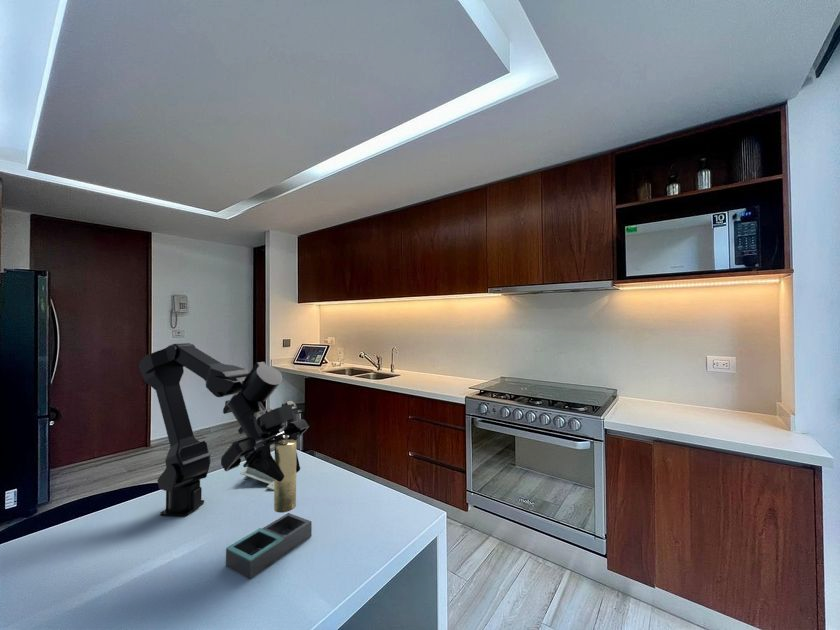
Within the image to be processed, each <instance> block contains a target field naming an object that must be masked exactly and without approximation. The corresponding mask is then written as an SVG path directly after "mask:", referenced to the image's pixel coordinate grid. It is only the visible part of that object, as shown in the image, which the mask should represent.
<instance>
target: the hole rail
mask: <svg viewBox="0 0 840 630" xmlns="http://www.w3.org/2000/svg"><path fill="white" fill-rule="evenodd" d="M312 527H313V526H312V521H311V520H309V519H306V518H303V517H300V516H299V515H295V514H293V513H290V512H288V513H287V512H286V514H284V515H282V516H281V517H279V518H277V519H276V520H273V521H272V522H270V523H269V524H267V525H265V526H263V527H262V528H261V527H260V528H258V529H256V530H254V531H253V532H251V533H249V534H247V535H246V536H244V537H242V538H241V539H238V540H237V541H235V542H233V543H232V544H230V545H228V546H227V547H226V548H225V567H226V568H229V569H230V570H232V571H234V572H236V573H238V574H239V575H241V576H243V577H245V578H247V579H249V580H252V579H254V578H255V577H256V576H257V575H259V574H261V573H262V572H263V571H264V570H266V569H267V568H269V567H270V566H272V565H273V564H274V563H275V562H277V561H279V560H280V559H282V558H283V557H284V556H286V555H287V554H288V553H290V552H291V551H293V550H294V549H295V548H297V547H298V546H299V545H301V544H303V543H304V542H305V541H307V540H308V539H310V538H311V537H312ZM288 531H290V532H289V533H288V534H285V535H282V534H284V533H285V532H288ZM259 549H260V550H259ZM257 550H259V551H257ZM256 551H257V552H256ZM254 552H256V553H254ZM252 553H254V554H252ZM251 554H252V555H251Z"/></svg>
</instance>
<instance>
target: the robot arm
mask: <svg viewBox="0 0 840 630" xmlns="http://www.w3.org/2000/svg"><path fill="white" fill-rule="evenodd" d="M184 368H186V369H188V370H190V372H192V373H193V374H195V375H197V376H198V377H200V378H202V379H203V380H204V381H205V388H206V389H207V390H208V391H209V392H211V394H212V395H213V396H215V397H216V398H223V397H229V396H232V397H230V399H229V400H225V402H224V403H225V404H224V407H223V409H222V413H223V414H225V415H227V414H230V413H232V415H233V416H234V418H235V420H236V422H237V423H238V424H239V426H240V428H239V429H238V430H237V432H238V433H239V435H243V434H244V435H245V436H246V437H245V438H243V439H239V440H237V441H233V442H232V444H231V445H229V447H228V449H226V451H225V452H224V453H223V454H222V456H221V458H220V465H221V466H222V468H223V470H224V471H225V472H229V471H230V470H233V469H235V468H237V467H239V466H240V464H241V461H242V459H241V458H243V457H244V460H245V462H244V464H243V468H244V469H246V468H247V467H250V468H252V469H255V470H257V471H260V472H262V473H264V474H266V475H268V476H270V477H271V478H273V479H275V480H277V481H279V482H281V481H282V480H283V479H284V477H283V475H282V473H281V471H280V469H279V467H278V466H277V464H276V462H275V461H274V459H275V458H273V456H272V453H271V446H272V445H275V443H276V442H278V441H282V440H296V441H298V440H299V438H301V437H302V435H303V434H305V432H306V431H307V430H308V429H309V428H310V425H309V423H307V421H306V420H305V419H301V418H299V419H297V420H295V419H296V415H297V414H298V412H299V409H298V407H297V404H296V403H295V402H294V401H293V400H288V401H285V403H281V406H279V407H276V408H273V409H272V408H270V407H269V408H265V406H264V405H263V403H262V402H266V401H267V400H268V399H269V398H270V397H271V395H272V394H273V393H274V392H275V390H277V388H278V387H279V386H280V384H281V383H282V382H283V375H282V373H281V371H280V370H278V369H276V368H275V367H273V366H272V365H267V364H266V362H265V361H260V362H259V361H258V362H255V363H254V365H253V366H252V368H251V370H250V371H249V372H248V370H247V369H246V368H243V367H240V366H238V365H233V364H225V363H222V362H220V361H219V360H217V359H215V358H213V357H212V356H211V355H209V354H207V353H205V352H203V351H201V350H200V349H198V348H197V347H196V346H195V345H194V344H193V343H191V342H187V343H185V342H184V343H172V344H170V345H168V346H166V347H165V348H163V349H159V350H157V351H154V352H151V353H148V354H146V355H145V356H144V357H143V358H142V359H141V360H140V361H139V364H138V369H139V372H140V373H141V375H142V377H143V380H144V383H146V384H147V385H148V386H150V388H152V389H153V390H155V393H156V396H157V401H158V405H159V408H160V412H161V416H162V420H163V423H164V426H165V430H166V435H167V438H168V442H169V449H168V452H167V455H166V457H165V459H164V460H165V469H164V471H162V473H161V474H160V476H159V477H157V485H158V489H159V490H162V491H165V509H163V510H162V511H161V512H160V513H159V514H160V516H163V517H164V516H170V517H186V516H188V515H189V514H191V513H193V512H194V510H197V509H198V508H199V507H200V506H202V505H203V504H204V503H205V500H204V499H202V487H201V480H203V479H206V478H207V477H208V473H209V469H210V467H211V466H210V465H211V454H210V452H209V450H208V443H207V442H206V441H205V440H201V441H200V440H199V439H197V438H196V437H195V435H194V431H193V428H192V425H191V424H192V423H191V421H190V416H189V414H188V409H187V406H186V402H185V399H184V396H183V392H182V391H183V390H182V388H181V384H180V382H181V381H182V377H183V375H184V372H185V371H184ZM291 420H294V421H291ZM288 421H291V422H289V423H288V424H287V425H286V426H285V423H286V422H288ZM284 427H285V428H284ZM283 428H284V429H283ZM281 429H283V430H282V431H280V430H281ZM300 467H301V464H300V462H299V457H298V451H297V450H296V474H297V473H299V472H300V471H301V470H300Z"/></svg>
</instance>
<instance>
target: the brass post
mask: <svg viewBox="0 0 840 630" xmlns="http://www.w3.org/2000/svg"><path fill="white" fill-rule="evenodd" d="M297 441H298V440H297ZM297 441H296V440H282V441H278V442H276V443H275V444H274V459H275V462H276V464H277V466H278V467H279V469H280V471H281V473H282V475H283V477H284V479H283V480H282V481H281V482H279V481H277V480H275V479H274V490H273V510H274V512H276V513H280V514H281V513H287V512H288V513H289V512H291V511H292V510H294V509H295V508H296V507H297V473H296V451H297V443H298V442H297Z"/></svg>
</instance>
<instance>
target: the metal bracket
mask: <svg viewBox="0 0 840 630" xmlns="http://www.w3.org/2000/svg"><path fill="white" fill-rule="evenodd" d="M273 459H274V461H275V458H273ZM300 469H301V470H302V467H301V466H300ZM239 474H240V475H242V476H245V478H244V480H245V479H246V480H247V479H249V478H251V479H254V480H257V481H260V482H262V483H265V484H268V485H267V486H266V489H268V490H271V491H274V479H273V478H271V477H270V476H268V475H266V474H264V473H262V472H260V471H257V470H255V469H252V468H250V467H245V468H244V469H243V470H242V471H240V472H239ZM248 477H249V478H248Z"/></svg>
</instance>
